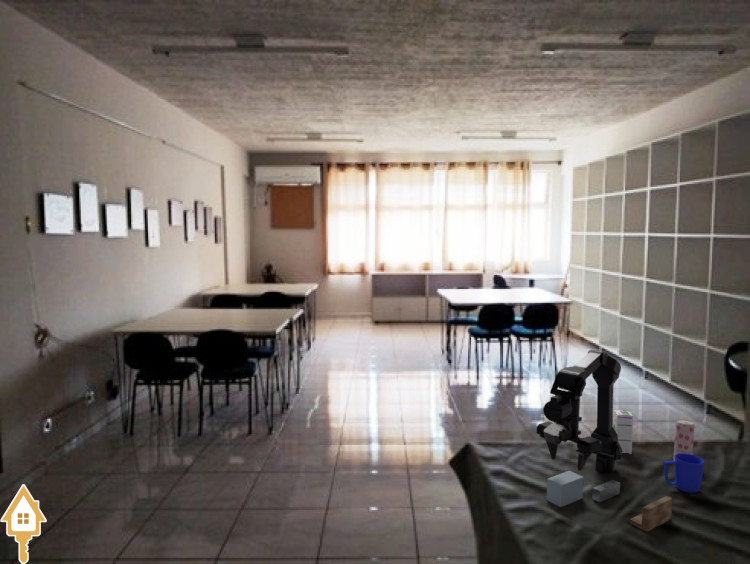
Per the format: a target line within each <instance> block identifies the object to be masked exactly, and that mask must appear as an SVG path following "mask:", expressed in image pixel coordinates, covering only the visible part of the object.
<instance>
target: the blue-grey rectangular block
mask: <svg viewBox="0 0 750 564" xmlns="http://www.w3.org/2000/svg"><path fill="white" fill-rule="evenodd" d="M546 482H547V484H546V485H547V486H546V501H547V502H549V503H551V504H553V505H555V506H557V507H559V508H562V507H565V506H567V505H570V504H573V503H575V502H577V501H580V500H582V499H583V495H584V494H583V493H584V476H582V475H580V474H578V473H576V472H573V471H571V470H568V471H567V470H566V471H564V472H562V473H558V474H557V475H554V476H550V477H548V478H547V481H546Z"/></svg>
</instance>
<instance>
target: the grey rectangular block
mask: <svg viewBox="0 0 750 564" xmlns="http://www.w3.org/2000/svg"><path fill="white" fill-rule="evenodd" d="M620 491H621V482H619V481H617V480H614V479H611V480H609V481H606V482H604V483H602V484H599V485H596V486H593V487H592V494H591V495H592V497H591V499H592V500H593V501H595V502H597V503H601V502H605V501H606V500H608V499H611V498H613V497H615V496H618V495H620Z"/></svg>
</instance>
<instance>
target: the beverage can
mask: <svg viewBox="0 0 750 564" xmlns="http://www.w3.org/2000/svg"><path fill="white" fill-rule="evenodd" d="M674 433H675V434H674V435H675V436H674V447H673V448H674V449H673V457H674V456H675V455H676V454H680V453H684V454H691V455H694V452H693V451H694V439H695V423H694V421H691V420H688V419H683V418H682V419H677V420H676V423H675V432H674ZM672 461H675V459H674V458H673V460H672Z"/></svg>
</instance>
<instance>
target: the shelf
mask: <svg viewBox="0 0 750 564" xmlns="http://www.w3.org/2000/svg"><path fill="white" fill-rule="evenodd" d="M672 506H673V498H672V497H670V496H668V495H666V496H664V497H663V496H662V498H660V499H657V500H654V501H653V502H651V503H649V504H647V505H645V506H642V512H641V513H639V514H638V515H636V516H634V517H632V518H628V519H627V520H625V523H628V524H630V525H632V526H634V527H636V528H638V529H641V530H643V531H645V532H646V533H648V532H650V531H651V530H653V529H656V528H657V527H659V526H661V525H663V524H665V523H667V522H669V521H670V520H671V519H672V510H673V509H672ZM671 521H672V520H671Z"/></svg>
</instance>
